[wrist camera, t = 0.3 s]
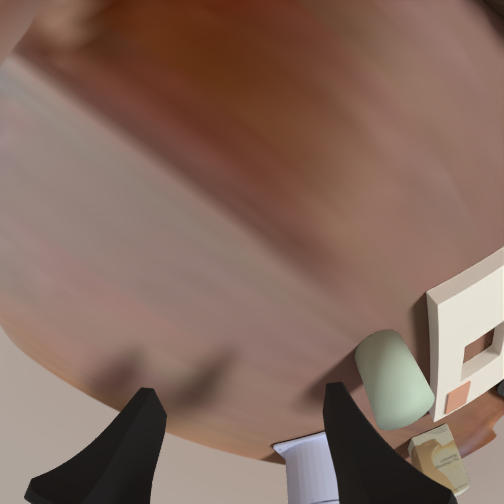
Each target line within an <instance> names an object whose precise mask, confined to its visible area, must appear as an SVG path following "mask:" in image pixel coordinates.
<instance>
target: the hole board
mask: <svg viewBox="0 0 504 504" xmlns="http://www.w3.org/2000/svg"><path fill="white" fill-rule="evenodd" d="M426 297H427V307H428V320H429V337H430V389H431V390H432V392H433V394H434V397H435V400H434V403H433V405H432V407H431V408H430V409H429V413H430V415H431V417H432V419H433V422H436V421H437V420H439V419H441V418H443V417H445V416H447V415H448V414H450V413H452V412H454V411H456V410H457V409H459V408H461V407H462V406H464V405H466V404H467V403H469V402H470V401H472V400H474V399H475V398H477V397H478V396H480V395H481V394H483V393H484V392H486V391H487V390H489V389H490V388H492V387H493V386H494V385H496V384H497V383H499V382H500V381H501V380H503V379H504V246H503V247H502V248H500V249H499V250H497V251H496V252H494V253H493V254H491V255H489V256H488V257H486V258H485V259H483V260H481V261H480V262H478V263H476V264H475V265H473V266H471V267H470V268H468V269H466V270H465V271H463V272H461V273H459V274H458V275H456V276H454V277H452V278H450V279H449V280H447V281H445V282H443V283H441V284H439V285H438V286H436V287H434V288H432V289H430V290H428V291H426ZM494 327H495V329H494V335H493V341H492V345H491V346H489V347H488V348H486V349H485V350H484V351H482V352H481V353H479V354H477V355H476V356H474V357H473V358H471V359H470V360H468V361H466V362H465V363H463V357H464V348H465V346H467V345H468V344H470V343H472V342H473V341H475V340H476V339H478V338H479V337H481V336H482V335H484V334H485V333H487V332H488V331H490V330H491V329H493V328H494Z"/></svg>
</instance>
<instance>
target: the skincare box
mask: <svg viewBox="0 0 504 504" xmlns="http://www.w3.org/2000/svg"><path fill="white" fill-rule="evenodd" d="M408 451H409V455H410V458H411V461H412V465H413V466H414V467H415V468H417V469H418V470H419V471H421V472H422V473H423V474H425V475H426V476H428V477H430V478H431V479H433V480H434V481H436V482H438V483H440V484H441V485H443V486H445V487H447V488H449V489H451V490H452V492H453V494H454V496H455V497H456V496H458V495H459V494H462V493H463V492H464V491H465V490H466V489H467V488H468V487H470V482H469V479H468V476H467V473H466V470H465V467H464V464H463V462H462V459H461V457H460V454H459V451H458V449H457V446H456V444H455V441H454V439H453V437H452V434H451V432H450V429H449V427H448V425H447V424H444V425H442V426H440V427H437V428H435V429H433V430H430V431H428V432H425V433H423V434H421V435H418V436H415V437H413V438H411V441H410V443H409V446H408Z"/></svg>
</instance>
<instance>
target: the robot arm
mask: <svg viewBox="0 0 504 504" xmlns="http://www.w3.org/2000/svg"><path fill="white" fill-rule="evenodd" d="M166 419H167V414H166V412H165V411H164V409H163V407H162V405H161V403H160V401H159V399H158V397H157V395H156V393H155V391H154V389H153V388H140V389H139V390H138V392H137V393H136V394H135V395H134V396H133V398H132V399H131V400H130V401H129V403H128V404H127V405H126V406H125V407H124V409H123V410H122V411H121V412H120V413H119V414H118V416H117V417H116V418H115V419H114V420H113V421H112V423H111V424H110V425H109V426H108V427H107V428H106V429H105V430H104V431H103V432H102V433H101V434H100V435H99V436H98V437H97V438H96V439H95V440H94V441H93V442H92V443H91V444H90V445H88V446H87V447H86V448H85V449H83V450H82V451H81V452H80V453H78V454H77V455H76V456H74V457H73V458H71V459H70V460H68V461H67V462H65V463H63V464H62V465H60V466H58V467H57V468H55V469H53V470H51V471H49V472H47V473H44V474H42V475H40V476H37V477H35V478H32V479H31V481H30V484H29V486H28V488H27V491H26V493H25V496H24V498H25V500H27V501H28V502H30V503H31V504H150V496H151V488H152V481H153V476H154V471H155V468H156V464H157V460H158V457H159V453H160V450H161V446H162V442H163V438H164V434H165V427H166ZM323 419H324V427H325V432H321V433H318V434H314V435H311V436H307V437H303V438H300V439H296V440H292V441H287V442H283V443H279V444H275V445H273V448H274V450H275V451H276V452H278V453H279V454H280V455H281V456H282V457H283V458H284V459H285V460H286V472H287V490H288V504H458V503H457V500H456V498H455V496H454V494H453V492H452V490H451V489H449V488H447V487H445V486H443V485H441V484H440V483H438V482H436V481H434V480H433V479H431V478H430V477H428V476H426V475H425V474H423V473H422V472H421V471H419V470H418V469H417V468H415V467H414V466H413V465H411V464H410V463H409V462H407V461H406V460H405V459H404V458H403V457H401V456H400V455H399V454H398V453H397V452H396V451H395V450H394V449H393V448H392V447H391V446H390V445H389V444H388V443H387V442H386V441H385V440H384V439H383V438H382V437H381V436H380V434H379V433H378V432H377V431H376V430H375V429H374V427H373V426H372V425H371V424H370V422H369V421H368V420H367V419H366V417H365V416H364V415H363V413H362V412H361V410H360V409H359V408H358V406H357V405H356V403H355V402H354V400H353V399H352V397H351V396H350V394H349V392H348V391H347V389H346V387H345V385H344V384H343V383H342V382H336V383H329V384H326V392H325V399H324V406H323Z"/></svg>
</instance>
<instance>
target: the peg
mask: <svg viewBox="0 0 504 504" xmlns="http://www.w3.org/2000/svg"><path fill="white" fill-rule="evenodd" d="M355 362H356V364H357V367H358V370H359V373H360V376H361V378H362V381H363V384H364V387H365V390H366V393H367V396H368V398H369V401H370V404H371V407H372V410H373V413H374V416H375V420H376V423H377V426H378V427H379V428H380V429H382V430H395V429H399V428H402V427H405V426H407V425H409V424H411V423H413V422H415V421H416V420H418V419H419V418H421V417H422V416H423V415H424V414H425V413H426V412H427V411H428V410H429V409H430V408H431V407H432V405H433V403H434V400H435V397H434V394H433V392H432V390H431V389H430V387H429V385H428V383H427V381H426V379H425V377H424V375H423V374H422V372H421V370H420V368H419V366H418V365H417V363H416V361H415V359H414V357H413V356H412V354H411V352H410V350H409V349H408V347H407V345H406V344H405V342H404V340H403V338H402V337H401V335H400V334H399V333H398V332H396V331H394V330H381V331H378V332H375V333H373V334H371V335H370V336H368V337H367V338H365V339H364V340H363V341H362V342H361V343H360V344H359V346H358V347H357V349H356V352H355Z"/></svg>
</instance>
